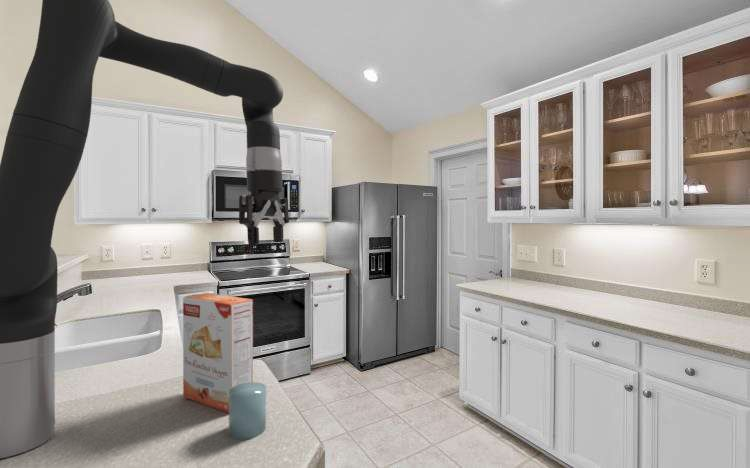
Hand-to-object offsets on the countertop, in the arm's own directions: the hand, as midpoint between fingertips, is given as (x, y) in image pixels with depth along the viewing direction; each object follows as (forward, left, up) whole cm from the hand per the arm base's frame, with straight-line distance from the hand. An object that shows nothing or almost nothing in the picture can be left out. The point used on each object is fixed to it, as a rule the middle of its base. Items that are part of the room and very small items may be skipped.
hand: (266, 243), depth 81 cm
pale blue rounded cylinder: (-16, -11, -31) cm, 37 cm away
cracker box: (-11, +3, -32) cm, 33 cm away
